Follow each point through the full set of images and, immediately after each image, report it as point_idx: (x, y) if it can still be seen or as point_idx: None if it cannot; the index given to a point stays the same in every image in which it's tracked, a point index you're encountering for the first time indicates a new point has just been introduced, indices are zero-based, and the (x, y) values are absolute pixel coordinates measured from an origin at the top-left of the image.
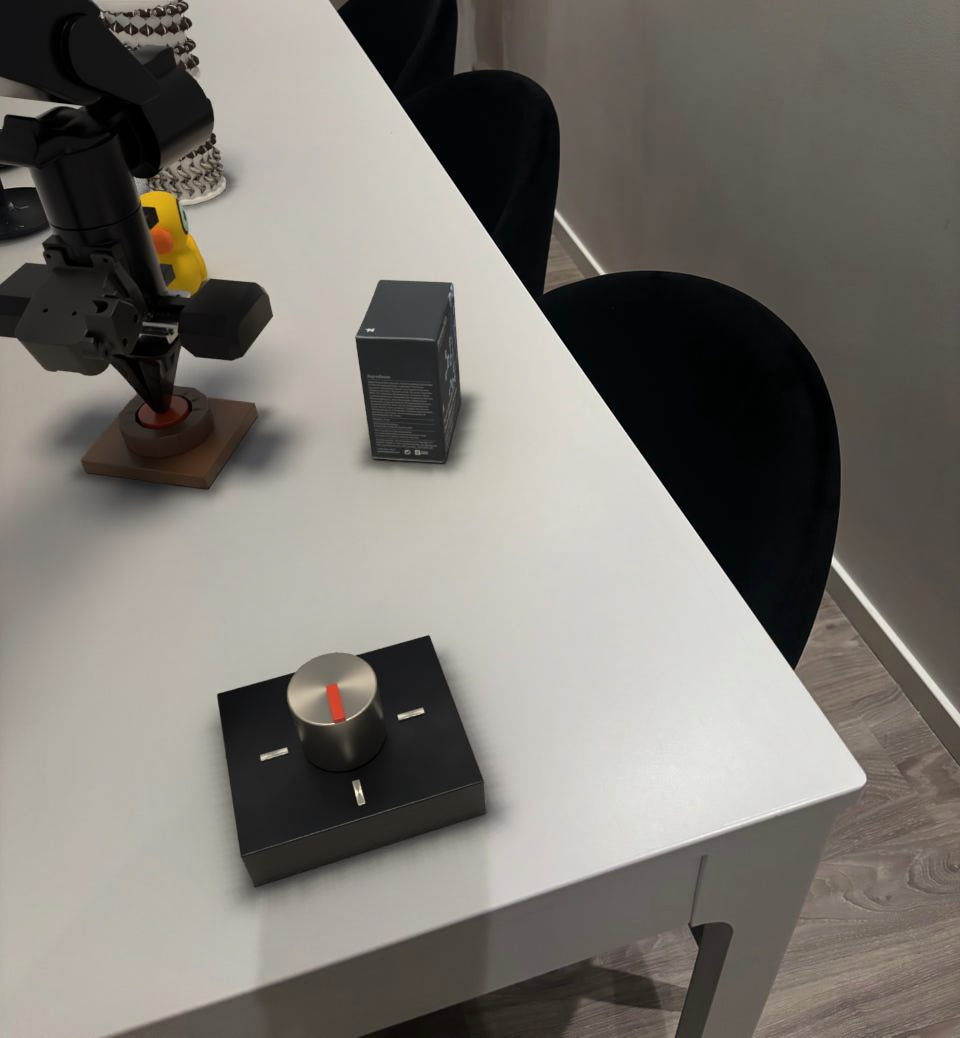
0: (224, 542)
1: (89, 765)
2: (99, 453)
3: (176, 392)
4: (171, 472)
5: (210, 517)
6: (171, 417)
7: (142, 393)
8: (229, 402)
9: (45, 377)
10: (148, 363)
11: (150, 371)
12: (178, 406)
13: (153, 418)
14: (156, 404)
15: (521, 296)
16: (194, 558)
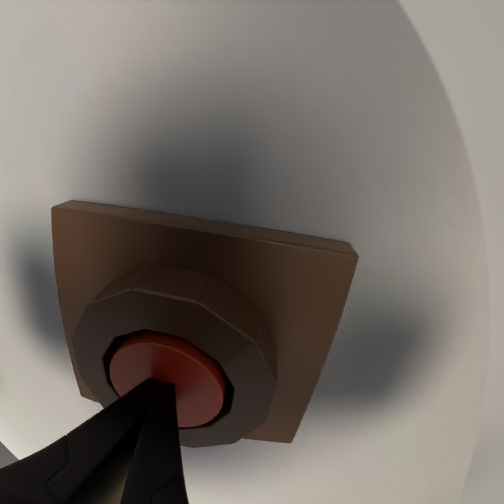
0: (21, 83)
1: None
2: (317, 280)
3: None
4: (111, 215)
5: (46, 129)
6: (126, 363)
7: (158, 427)
8: None
9: (442, 436)
10: (18, 491)
11: (45, 471)
12: None
13: (167, 364)
14: (144, 396)
15: (13, 454)
16: (51, 37)
